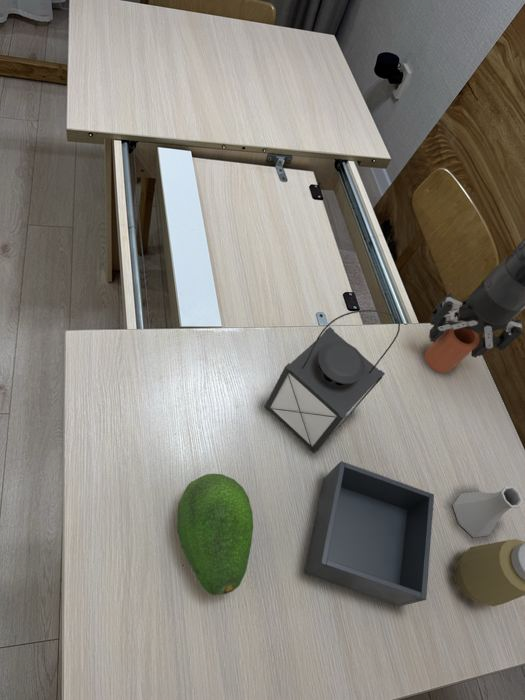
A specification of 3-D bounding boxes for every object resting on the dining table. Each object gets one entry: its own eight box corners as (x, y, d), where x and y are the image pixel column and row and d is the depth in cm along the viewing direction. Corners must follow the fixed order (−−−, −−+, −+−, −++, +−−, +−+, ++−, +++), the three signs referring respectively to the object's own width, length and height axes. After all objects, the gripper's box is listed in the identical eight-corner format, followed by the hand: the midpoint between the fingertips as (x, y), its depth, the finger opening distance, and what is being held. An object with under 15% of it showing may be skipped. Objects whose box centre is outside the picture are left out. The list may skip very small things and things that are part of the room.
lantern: (263, 406, 83) (315, 305, 60) (305, 368, 89) (366, 262, 66) (314, 454, 81) (388, 367, 58) (353, 411, 87) (435, 316, 64)
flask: (444, 502, 81) (479, 483, 73) (475, 485, 84) (513, 464, 76) (471, 545, 79) (512, 530, 70) (503, 526, 82) (545, 509, 73)
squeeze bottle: (437, 562, 76) (511, 534, 61) (476, 542, 79) (557, 511, 64) (466, 618, 72) (553, 603, 58) (507, 595, 76) (599, 576, 61)
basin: (409, 508, 79) (434, 494, 73) (399, 606, 71) (426, 600, 65) (323, 478, 79) (341, 460, 73) (303, 573, 71) (321, 563, 64)
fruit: (250, 596, 68) (267, 585, 60) (175, 602, 65) (182, 592, 57) (241, 484, 76) (255, 461, 67) (174, 486, 73) (180, 463, 65)
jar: (453, 353, 99) (479, 327, 92) (452, 377, 96) (479, 352, 88) (425, 343, 99) (450, 316, 91) (423, 366, 95) (448, 341, 88)
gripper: (548, 289, 82) (488, 343, 95) (466, 258, 81) (418, 317, 95) (551, 323, 78) (488, 375, 91) (464, 291, 77) (414, 348, 91)
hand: (452, 345), depth 93 cm, fingers open, 7 cm apart
